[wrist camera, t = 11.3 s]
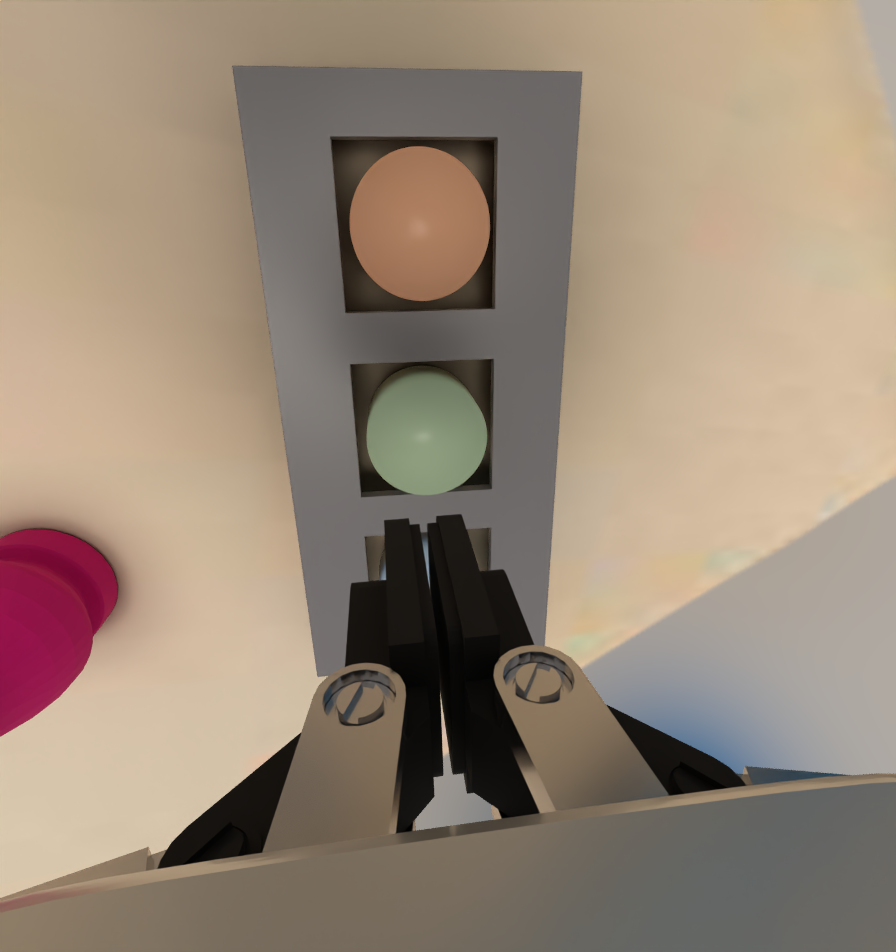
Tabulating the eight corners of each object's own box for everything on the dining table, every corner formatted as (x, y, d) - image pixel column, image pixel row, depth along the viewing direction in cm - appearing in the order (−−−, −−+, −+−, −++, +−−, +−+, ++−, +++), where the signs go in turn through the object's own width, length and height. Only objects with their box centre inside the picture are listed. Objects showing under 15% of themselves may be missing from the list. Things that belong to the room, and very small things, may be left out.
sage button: (364, 367, 24) (362, 382, 21) (475, 363, 24) (487, 377, 22) (371, 472, 26) (370, 498, 23) (475, 466, 26) (486, 491, 24)
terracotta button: (348, 159, 21) (343, 146, 18) (476, 159, 21) (491, 146, 19) (358, 296, 23) (355, 302, 20) (476, 293, 23) (489, 299, 20)
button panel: (251, 90, 21) (232, 65, 18) (556, 94, 22) (582, 71, 19) (323, 638, 31) (317, 676, 28) (529, 620, 32) (543, 655, 29)
